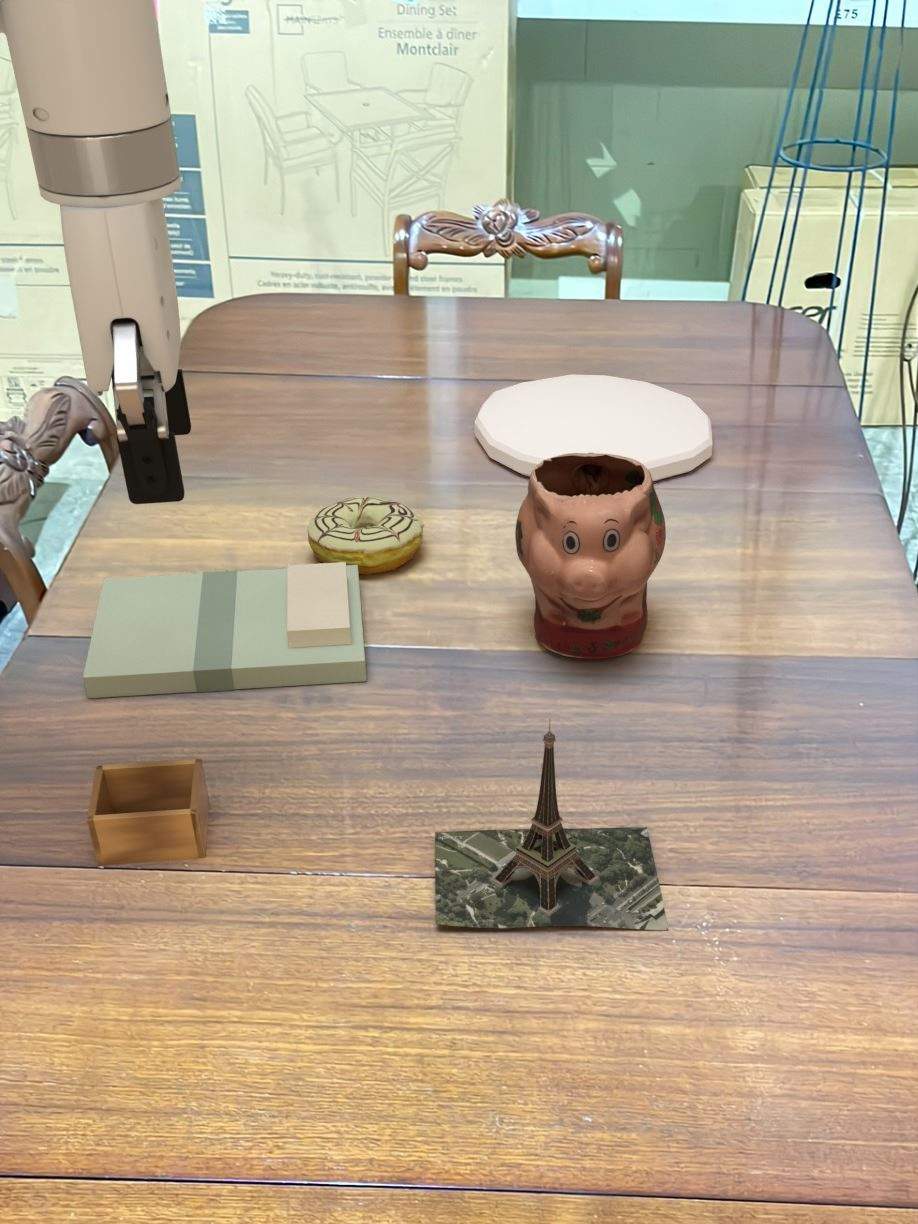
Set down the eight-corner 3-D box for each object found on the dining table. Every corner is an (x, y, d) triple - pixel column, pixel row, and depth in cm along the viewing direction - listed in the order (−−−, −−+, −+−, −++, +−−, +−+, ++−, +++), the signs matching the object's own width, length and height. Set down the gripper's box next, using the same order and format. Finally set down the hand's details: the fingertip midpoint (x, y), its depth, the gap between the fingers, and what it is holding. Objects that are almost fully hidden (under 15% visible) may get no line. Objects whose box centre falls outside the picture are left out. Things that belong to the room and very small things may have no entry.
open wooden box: (102, 885, 90) (86, 820, 87) (111, 829, 95) (96, 765, 91) (209, 877, 91) (197, 812, 87) (213, 822, 96) (201, 758, 92)
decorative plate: (762, 421, 138) (547, 468, 130) (757, 460, 141) (546, 509, 132) (634, 343, 155) (437, 380, 146) (632, 380, 158) (438, 418, 149)
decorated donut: (429, 527, 129) (428, 490, 127) (418, 582, 121) (416, 543, 119) (320, 524, 130) (317, 486, 127) (302, 578, 122) (298, 539, 119)
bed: (87, 699, 107) (78, 659, 105) (108, 598, 119) (99, 560, 117) (366, 682, 109) (363, 642, 107) (359, 585, 121) (356, 547, 119)
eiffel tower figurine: (650, 832, 95) (665, 667, 86) (668, 930, 87) (687, 760, 78) (435, 836, 94) (428, 671, 86) (435, 935, 87) (427, 765, 78)
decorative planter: (508, 569, 123) (509, 418, 114) (642, 566, 124) (653, 416, 115) (521, 689, 108) (523, 527, 99) (673, 685, 109) (689, 523, 100)
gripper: (53, 124, 79) (112, 415, 90) (12, 207, 66) (87, 534, 77) (184, 119, 79) (226, 408, 91) (168, 200, 67) (220, 525, 78)
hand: (162, 466), depth 84 cm, fingers open, 9 cm apart
